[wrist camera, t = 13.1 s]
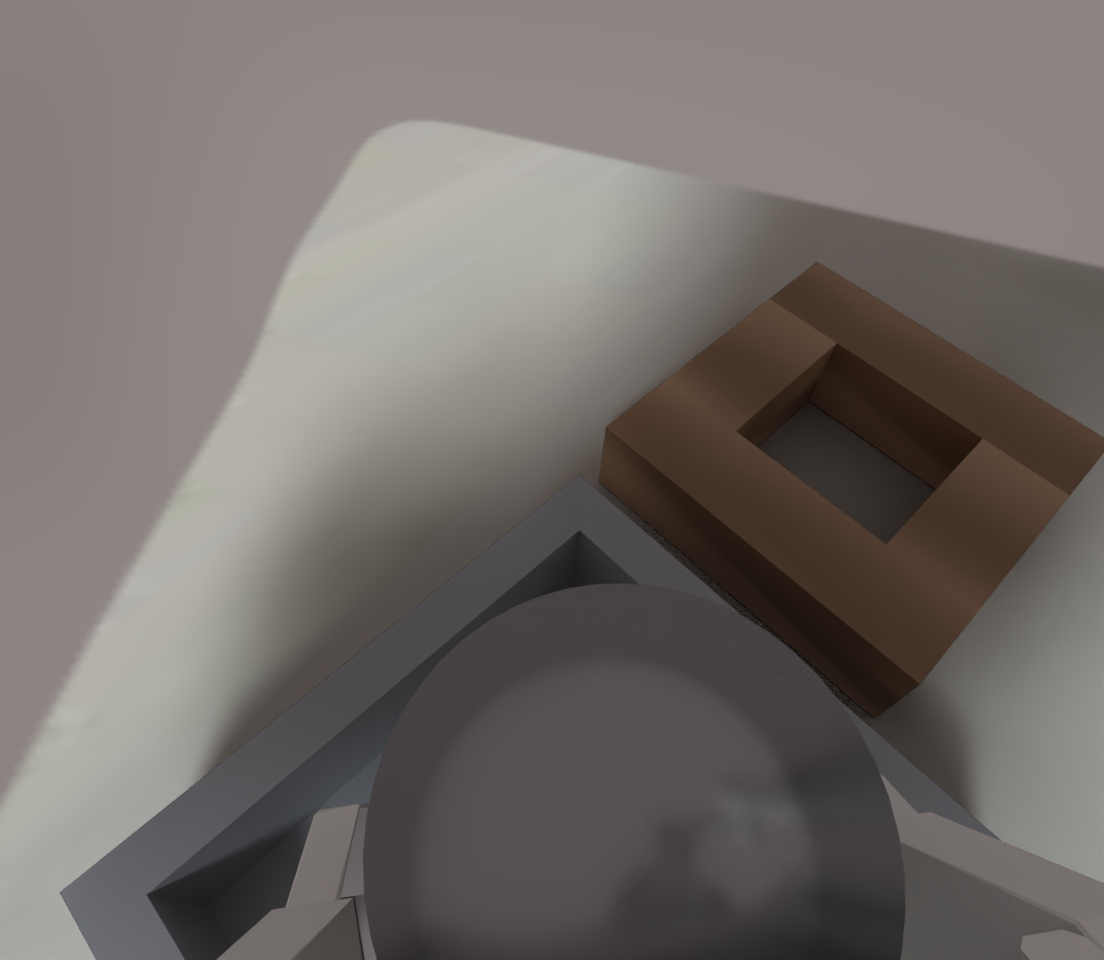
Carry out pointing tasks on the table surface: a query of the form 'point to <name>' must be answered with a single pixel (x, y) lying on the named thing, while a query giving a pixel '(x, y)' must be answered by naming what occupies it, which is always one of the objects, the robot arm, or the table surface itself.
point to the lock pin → (629, 796)
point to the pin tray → (366, 746)
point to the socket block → (816, 524)
